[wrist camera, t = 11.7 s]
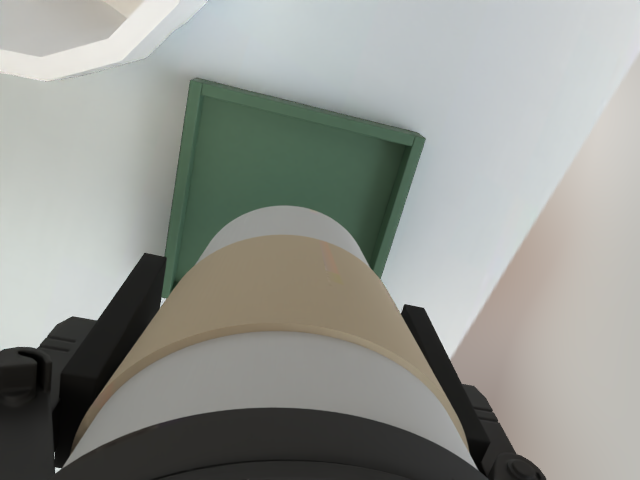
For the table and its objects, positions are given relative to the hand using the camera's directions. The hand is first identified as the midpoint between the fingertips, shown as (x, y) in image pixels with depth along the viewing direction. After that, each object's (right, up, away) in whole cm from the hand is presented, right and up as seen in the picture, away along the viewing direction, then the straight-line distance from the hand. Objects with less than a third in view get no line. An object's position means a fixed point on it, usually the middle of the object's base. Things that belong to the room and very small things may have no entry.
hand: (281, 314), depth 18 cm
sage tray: (-1, +4, +11) cm, 12 cm away
